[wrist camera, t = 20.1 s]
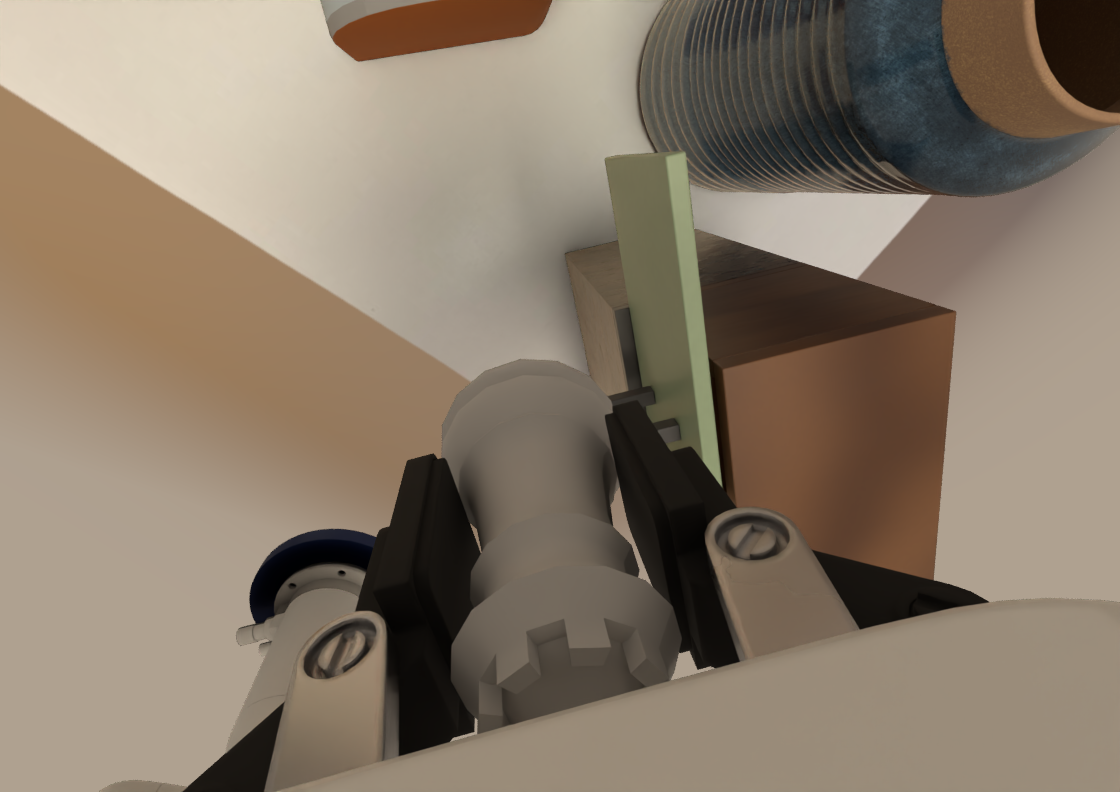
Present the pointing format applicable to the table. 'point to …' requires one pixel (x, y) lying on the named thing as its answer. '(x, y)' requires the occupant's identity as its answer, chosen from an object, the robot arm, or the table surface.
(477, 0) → the alarm clock
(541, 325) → the table surface
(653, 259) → the door
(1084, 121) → the vase
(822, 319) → the cabinet
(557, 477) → the rook chess piece
